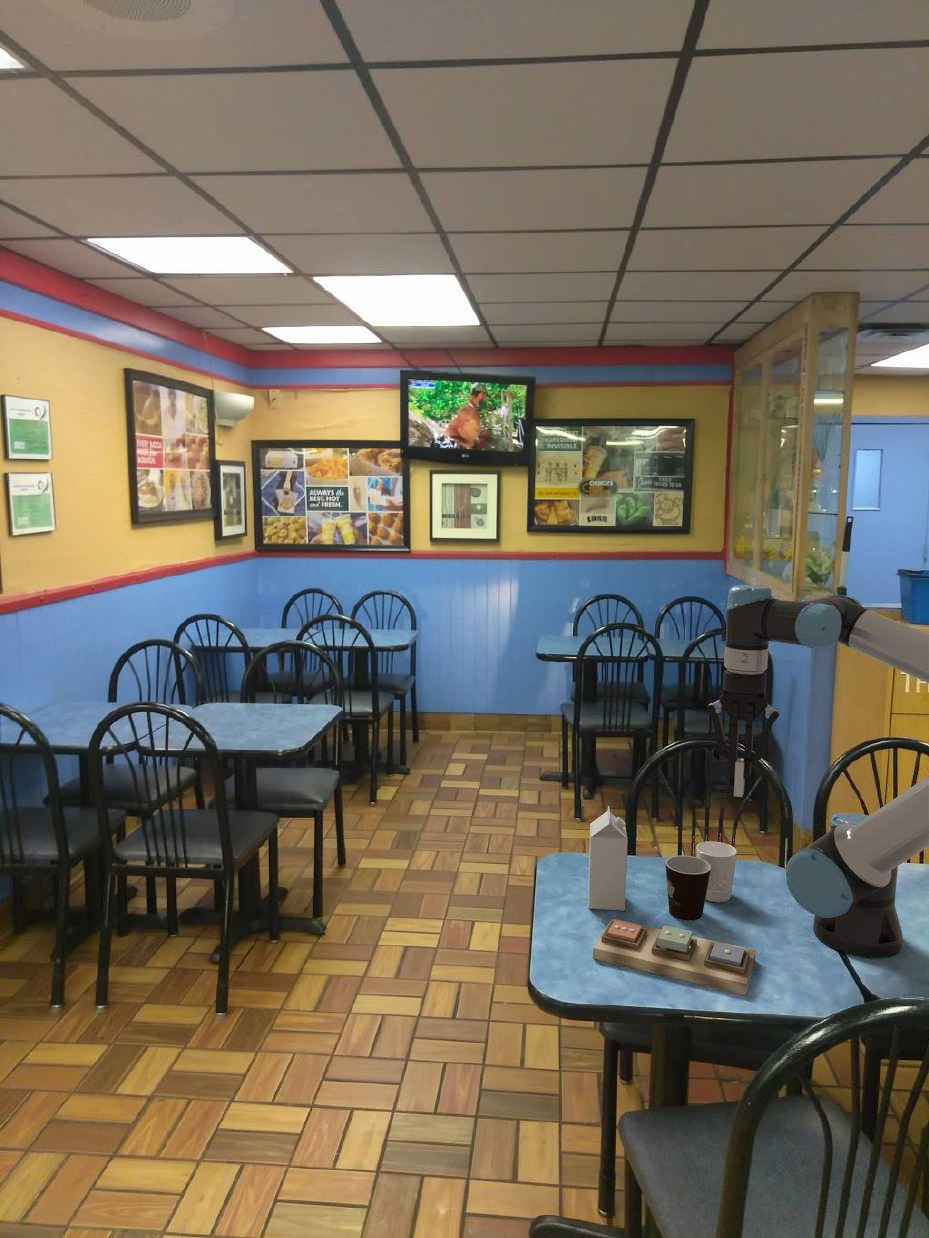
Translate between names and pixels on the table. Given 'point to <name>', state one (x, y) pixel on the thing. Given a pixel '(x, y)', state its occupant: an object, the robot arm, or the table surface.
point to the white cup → (718, 869)
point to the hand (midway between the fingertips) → (738, 794)
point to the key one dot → (727, 954)
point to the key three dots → (625, 931)
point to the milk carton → (607, 863)
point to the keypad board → (676, 960)
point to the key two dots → (674, 938)
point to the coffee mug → (687, 886)
